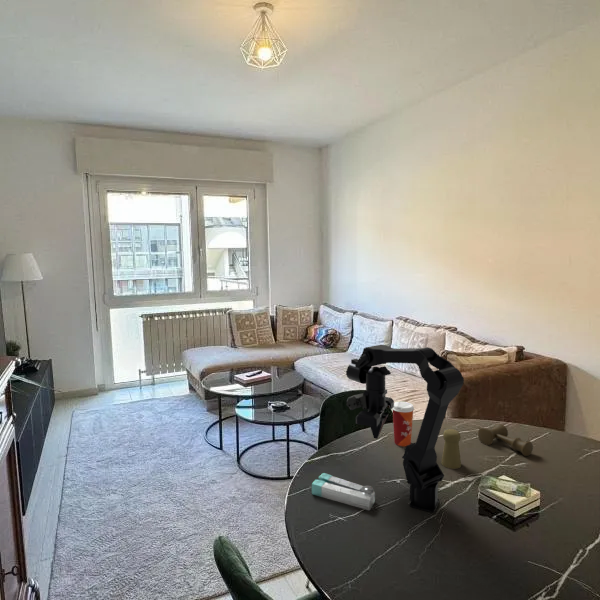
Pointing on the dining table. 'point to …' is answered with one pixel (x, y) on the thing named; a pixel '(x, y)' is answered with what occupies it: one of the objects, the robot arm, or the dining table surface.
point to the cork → (451, 449)
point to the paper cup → (402, 423)
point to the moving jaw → (340, 482)
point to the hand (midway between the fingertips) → (376, 438)
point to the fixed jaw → (345, 494)
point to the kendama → (504, 439)
